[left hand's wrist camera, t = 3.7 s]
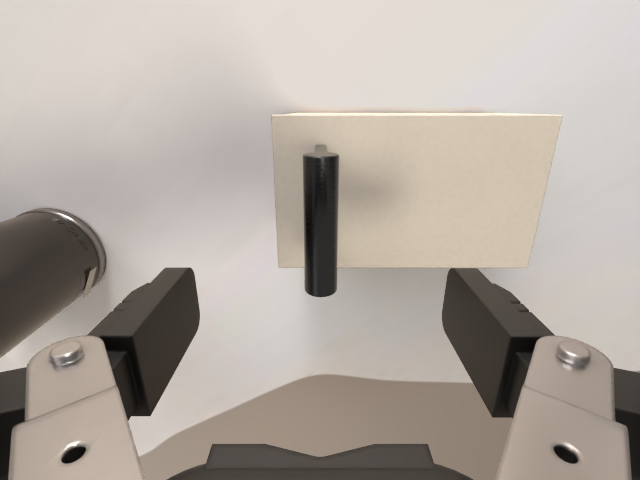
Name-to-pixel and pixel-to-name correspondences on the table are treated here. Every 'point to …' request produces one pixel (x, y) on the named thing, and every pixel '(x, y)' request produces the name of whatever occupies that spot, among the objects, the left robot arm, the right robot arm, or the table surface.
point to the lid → (408, 191)
